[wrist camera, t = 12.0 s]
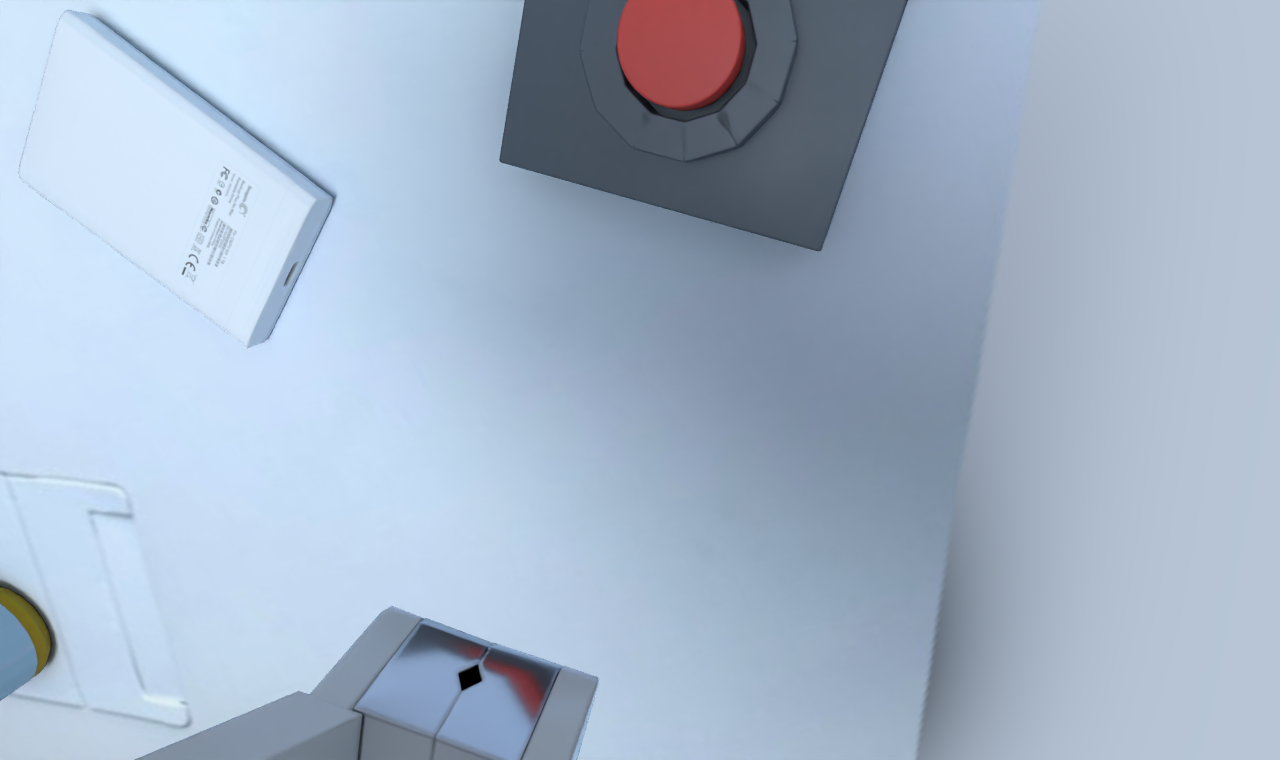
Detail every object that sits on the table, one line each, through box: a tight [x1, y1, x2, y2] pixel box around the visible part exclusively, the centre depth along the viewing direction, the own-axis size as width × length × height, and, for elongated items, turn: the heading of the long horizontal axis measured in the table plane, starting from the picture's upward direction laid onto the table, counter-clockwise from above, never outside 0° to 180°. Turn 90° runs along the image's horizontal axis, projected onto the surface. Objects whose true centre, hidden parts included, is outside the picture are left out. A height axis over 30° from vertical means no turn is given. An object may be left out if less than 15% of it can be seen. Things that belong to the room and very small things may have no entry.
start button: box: [617, 0, 746, 111], centre depth 20 cm, size 4×4×2 cm
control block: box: [499, 0, 908, 251], centre depth 22 cm, size 12×10×4 cm
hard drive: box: [18, 10, 333, 348], centre depth 29 cm, size 2×8×12 cm
